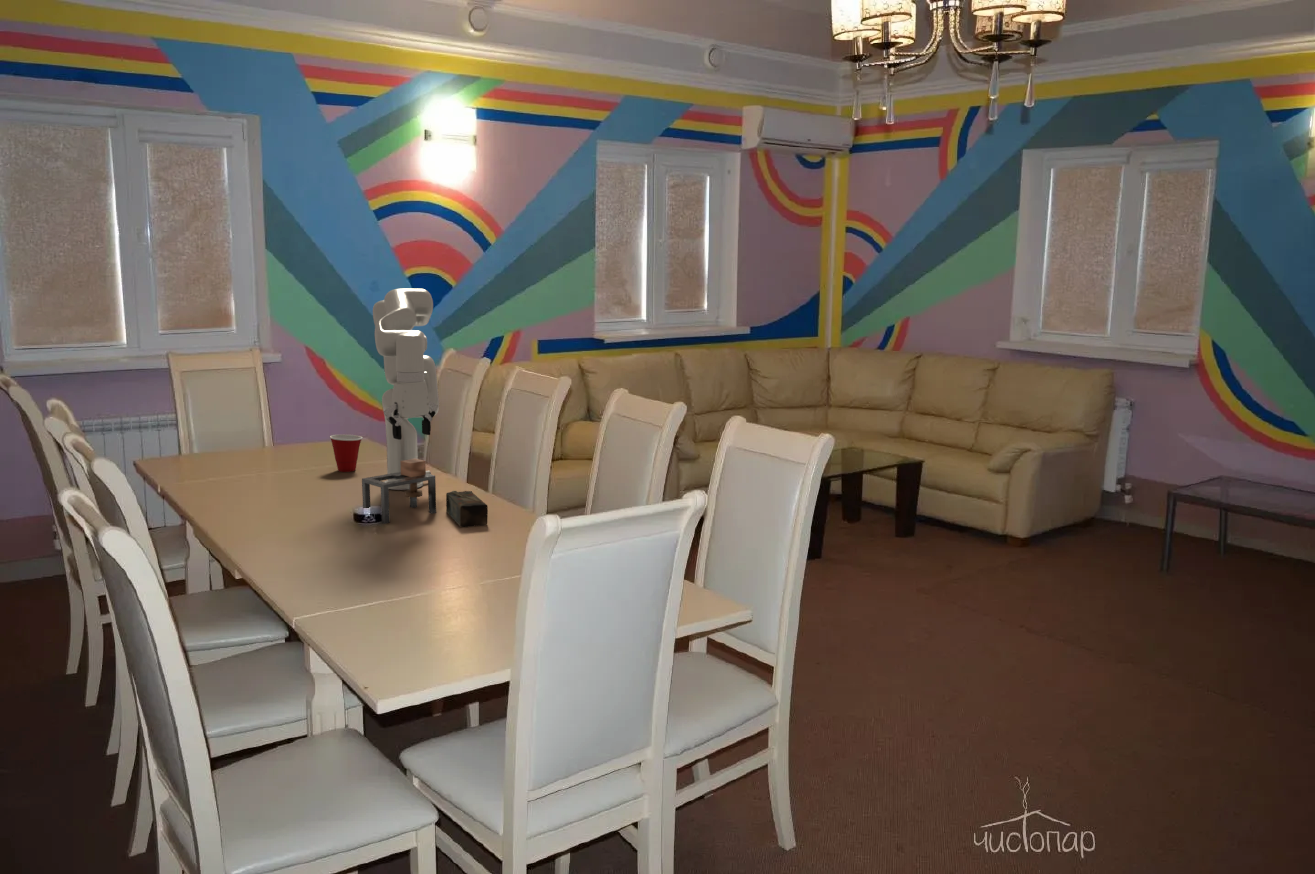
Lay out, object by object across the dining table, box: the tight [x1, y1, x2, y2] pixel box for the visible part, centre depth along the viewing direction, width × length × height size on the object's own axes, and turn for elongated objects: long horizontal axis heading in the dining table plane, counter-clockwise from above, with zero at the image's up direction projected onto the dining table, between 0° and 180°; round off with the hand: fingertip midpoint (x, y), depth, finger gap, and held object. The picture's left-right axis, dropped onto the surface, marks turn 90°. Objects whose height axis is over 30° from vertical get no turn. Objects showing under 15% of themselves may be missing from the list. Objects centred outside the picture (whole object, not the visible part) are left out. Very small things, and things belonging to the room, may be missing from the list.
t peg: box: [400, 458, 427, 498], centre depth 291 cm, size 5×5×10 cm
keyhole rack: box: [361, 472, 437, 524], centre depth 288 cm, size 17×11×11 cm, turn 138°
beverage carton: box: [445, 490, 489, 528], centre depth 286 cm, size 8×19×7 cm, turn 24°
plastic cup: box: [329, 434, 363, 473], centre depth 346 cm, size 11×11×12 cm
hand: (412, 436), depth 289 cm, fingers open, 9 cm apart
